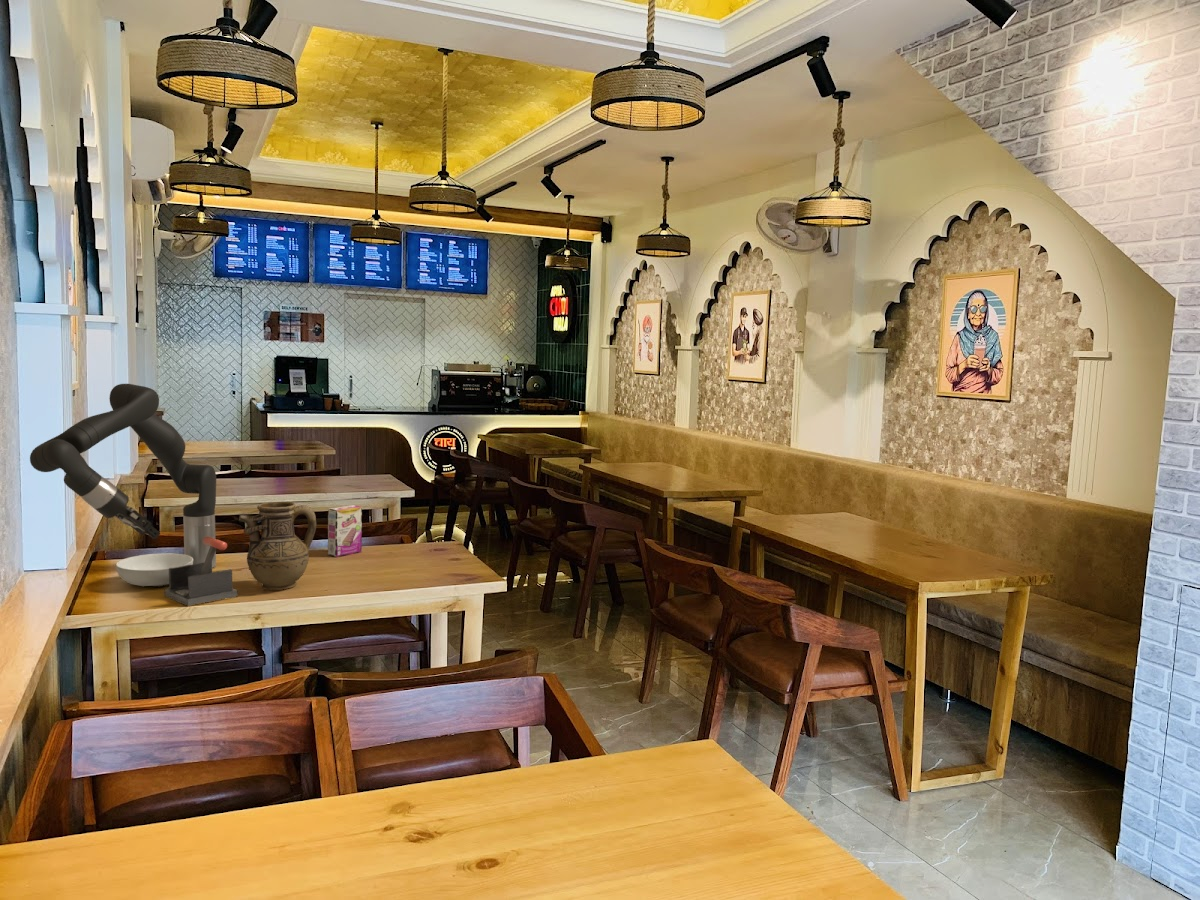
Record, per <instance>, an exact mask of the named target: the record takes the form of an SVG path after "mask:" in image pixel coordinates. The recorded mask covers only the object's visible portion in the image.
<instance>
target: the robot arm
mask: <svg viewBox="0 0 1200 900" xmlns="http://www.w3.org/2000/svg"><path fill="white" fill-rule="evenodd" d="M108 399H109V403H110V407H111V409H112V410H110V411H107V412H102V413H99V414H95V415H92V416H89V417H86V418H84V419H82V420H80V421H78V422H76V423H75V424H73V425H72V426H70V427H68V428H67V429H66V430H65V431H63V432H62V433H59V435H56V436H55V437H54V436H53V437H52V438H50V439H48V440H46V441H44V442H42V443H40V444H38V445H37V446H36V447H34V448H33V449H32V451H31V453H30V455H29V463H30V465H31V466H32V468H34V469H35V470H36V471H38V472H41V473H49V472H53V471H56V470H59V469H60V470H62V471H63V472H64V473H65V475H64V477H63V482H64V484H65V485H66V486H67V488H69V489H70V490H72V492H74V493H76V494H77V495H78V496H79V497H80V498H81V499H83V501H84V502H85V503H87V504H88V505H89V506H90V507H91V508H93V509H94V510H96V512H97V513H100V514H101V516H103V517H105V518H106V519H111V518H115V517H116V518H117V519H118V520H119V521H121V522H122V524H124V525H127V526H128V527H131V528H132V529H133V530H135V531H136V532H137V533H139V534H140V535H143V534H144V533H145V534H147V536H149V537H151V538H152V539H153V540H154V539H155V540H156V539H157V538H159V536H160V535H161V532H160V531H159V530H158V529H156V527H154V526H153V524H152V522H151V521H150V520H148V519H147V518H145V517H144V516H143V515H142V514H140V513H139V511H137V510H136V509H135V508H133V507H132V506H131V507H130V506H129V505H128V504H129V500H130V497H129V496H128V495H127V494H126V493H125V492H123V490H120V488H119V487H117V486H116V485H115V484H113V483H112V482H111V481H110V480H108V479H107V478H106V477H103V476H102V475H101V474H99V473H98V472H97V471H95V470H94V468H92V467H91V466H89V464H88V463H87V461H86V460H85V459H84V457H83V456H82V454H83V453H85V452H86V451H88V450H89V449H91V448H93V447H94V446H96V445H97V444H98V443H100V442H102V441H104V440H105V439H107V438H108V437H110V436H113V434H116V433H119V432H120V431H122V430H125V429H127V428H129V427H130V428H131V429H132V430H133V431H134V432H135V434H136V435H137V436H138V437H139V438H140V439H141V441H142V442H143V443H144V444H145V445H146V447H147V448H148V449H149V450H150V452H151V453H152V454H153V455H154V457H156V458H157V459H158V461H159V462H160V463H161V465H162V466H163V467H164V469H166V471H167V472H168V474H169V476H170V478H171V479H172V481H173V483H174V484H175V486H176V487H177V488H178V490H179V491H180V492H182V493H186V494H195V495H196V494H197V495H198V499H197V500H196V501H195V502H192V503H189V504H186V505H185V506H183V508H182V517H183V521H182V522H183V543H184V544H183V545H184V546H183V547H184V552H183V553H184V555H188V556H191V557H192V558H193V564H198V563H204V562H205V559H206V557H207V554H208V551H209V549H210V546H208V545H205V544H204V543H203V539H204V538H205V537H207V536H208V537H211V538H214V539H216V516H215V513H216V511H215V509H216V503H217V500H216V499H217V473H216V470H215V468H214V466H212V465H208V464H190V463H188V462H186V461H185V460H184V459H183V458H184V456H185V452H186V442H185V440H184V438H183V436H182V435H181V434H180V433H179V432H178V430H177V429H176V428H175V427H174V426H173V425H172V424H171V423H169V422H167V421H166V420H164V419H163V418H161V417H159V416H158V415H156V412H157V411H158V409H159V405H160V397H159V394H158V392H157V391H156V390H154V389H152V388H151V387H150V388H149V387H147V386H142V385H139V384H132V383H119V384H117V385H115V386H114V387H113V388H112V389H111V391H110V393H109V398H108ZM142 522H143V523H144V524H143V523H142ZM216 553H217V551H216V552H215V554H214V557H213V560H212V569H213V568H216V566H217V555H216Z"/></svg>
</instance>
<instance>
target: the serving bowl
mask: <svg viewBox="0 0 1200 900" xmlns="http://www.w3.org/2000/svg"><path fill="white" fill-rule="evenodd" d="M192 564H193V558H192V557H191V556H188V555H185V553H184V554H183V553H172V552H169V553H167V552H166V553H165V552H164V553H148V554H140V555H135V556H128V557H126V558H123V559H121V560H119V561H117V562H116V564H115V567H116V572H117V575H118V576H119V577H120V578H121V580H123V581H124V582H125V583H127V584H130V585H133V586H139V587H140V586H141V587H144V586H158V587H163V585H164V586H167V585H169V568H174V567H180V566H186V565H192Z"/></svg>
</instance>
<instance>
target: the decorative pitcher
mask: <svg viewBox="0 0 1200 900" xmlns="http://www.w3.org/2000/svg"><path fill="white" fill-rule="evenodd" d="M256 509H257V510H258V511H259V513H258V514H256V515H245V514H240V515H239V516H238V522H242V523H245V524H246V525H247V526H246V527H245V528H244V529H243V533H244V534H245V535H248V536H249V537H248V540H249V547H248V550H247V551H248V552H247V554H246V555H247V556H246V563H247V567H248V569H249V570H250V573H251V575H252V577H253V578H254V579H255V580H256V582H258V583H259V584H261V585H262V586H261V587H262V589H264V590H266V589H268V590H267V591H284V590H287V589H288V588H289V589H291V588H293V587H296V586H297V585H298V584H297V583H298V582H297V581H298V580H300V579H301V578H302V577H303V575H304V573H305V571H306V569H307V567H308V564H309V550H310V546H311V545H312V542H313V540H314V536H315V533H316V529H317V520H316V519H317V518H316V517H317V516H316V513H315V511H314V510H313V509H312V508H311V507H309V505H304V504H303V505H301V504H300V505H297V506H296V503H294V502H290V501H269V502H262V503H260V504H258V505H256ZM299 515H304V516H305V517H306V520H307V524H308V525H307V530H306V532H305V535H304V539H303V540H302V539H301V538H300V537H299V536H298V535H296V534H295V527H294V526H295V525H294V521H295V520H296V518H297V517H298V516H299ZM260 531H261V532H260ZM283 589H284V590H283Z"/></svg>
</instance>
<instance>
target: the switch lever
mask: <svg viewBox="0 0 1200 900" xmlns="http://www.w3.org/2000/svg"><path fill="white" fill-rule="evenodd" d="M203 543H204V544H205V545H208V546H210V549H209V551H208V554H207V557H206V559H205V562H204V565H203V568H202V570H201V573H200V574H205V573H208V571H209V568H210V565H211V562H212V560H213V557H214V554H215V552H216V553H217V550H220V551H225V550H226V549H227V548H228V543H227V542H225V541H223V540H220V539H216V538H215V539H214V538H211V537H208V536H207V537H205V538H204V539H203Z"/></svg>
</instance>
